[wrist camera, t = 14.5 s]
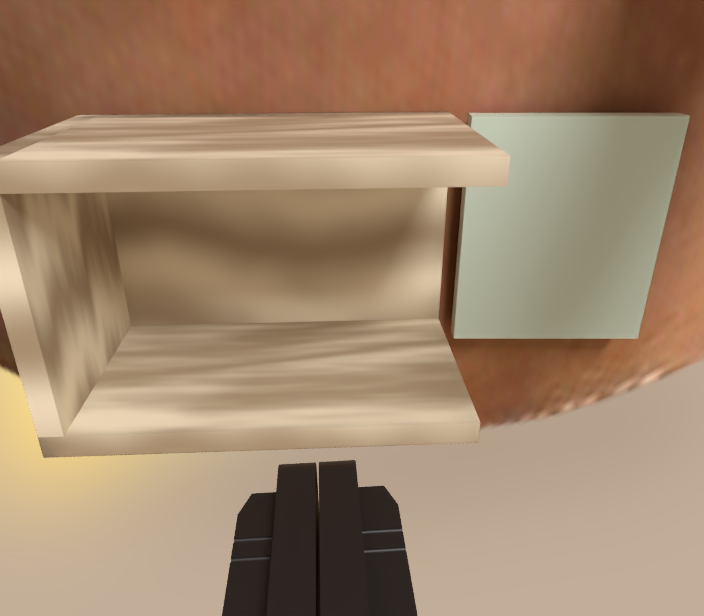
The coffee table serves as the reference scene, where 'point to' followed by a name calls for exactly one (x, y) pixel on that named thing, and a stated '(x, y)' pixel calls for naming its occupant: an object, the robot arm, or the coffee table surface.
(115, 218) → the box
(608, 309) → the flat panel
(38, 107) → the coffee table surface
